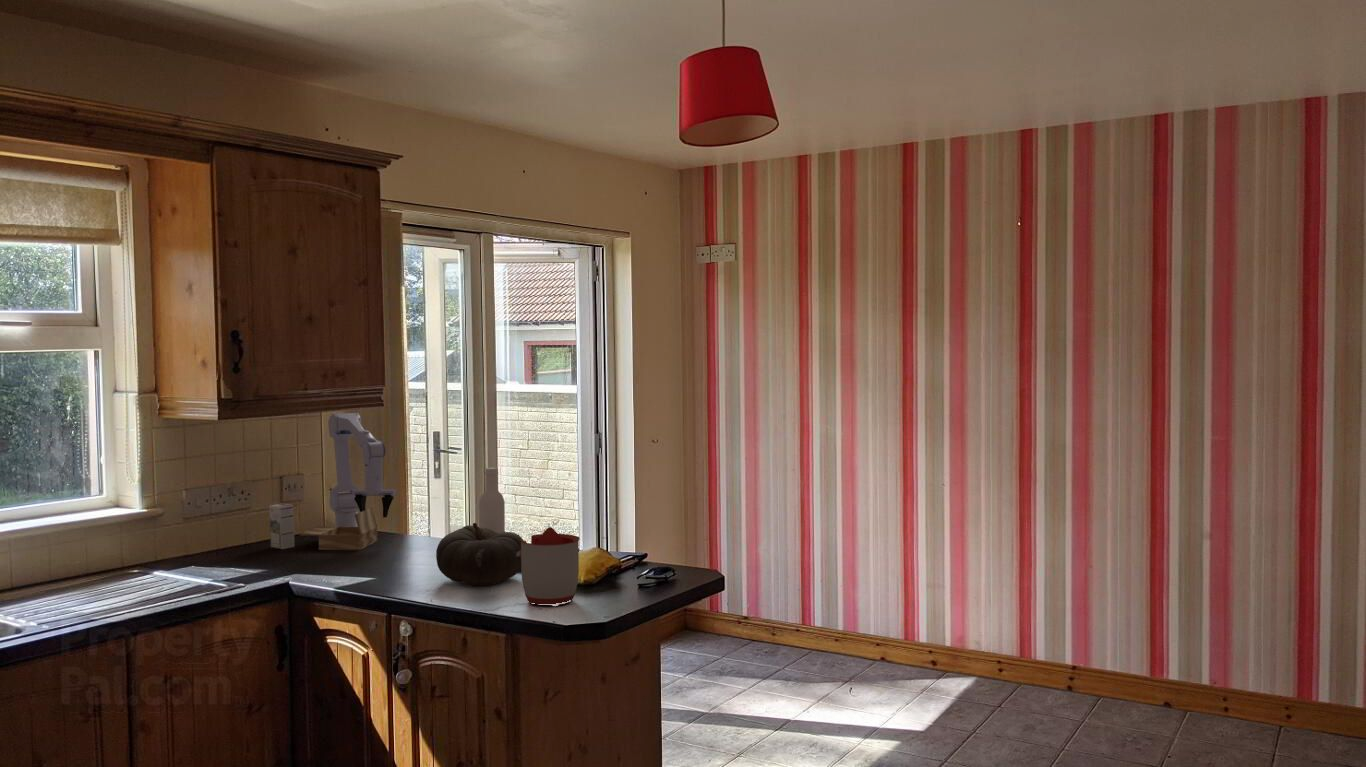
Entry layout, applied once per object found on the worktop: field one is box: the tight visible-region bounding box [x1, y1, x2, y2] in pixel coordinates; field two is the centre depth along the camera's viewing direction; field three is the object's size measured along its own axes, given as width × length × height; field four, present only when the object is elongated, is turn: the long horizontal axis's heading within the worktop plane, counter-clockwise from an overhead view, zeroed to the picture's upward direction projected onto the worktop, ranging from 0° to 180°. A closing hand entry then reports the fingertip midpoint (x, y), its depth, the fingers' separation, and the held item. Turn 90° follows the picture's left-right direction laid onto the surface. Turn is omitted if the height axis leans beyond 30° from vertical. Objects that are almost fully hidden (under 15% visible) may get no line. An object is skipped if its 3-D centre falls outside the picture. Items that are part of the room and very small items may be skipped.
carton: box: [299, 526, 378, 551], centre depth 354 cm, size 16×21×5 cm
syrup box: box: [269, 503, 295, 550], centre depth 351 cm, size 6×6×14 cm
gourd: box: [435, 522, 524, 586], centre depth 301 cm, size 25×25×17 cm
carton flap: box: [355, 507, 378, 535], centre depth 354 cm, size 14×7×1 cm
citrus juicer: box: [516, 526, 580, 604], centre depth 275 cm, size 16×17×20 cm
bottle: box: [478, 467, 506, 533], centre depth 323 cm, size 8×8×30 cm
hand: (374, 517), depth 353 cm, fingers open, 7 cm apart
